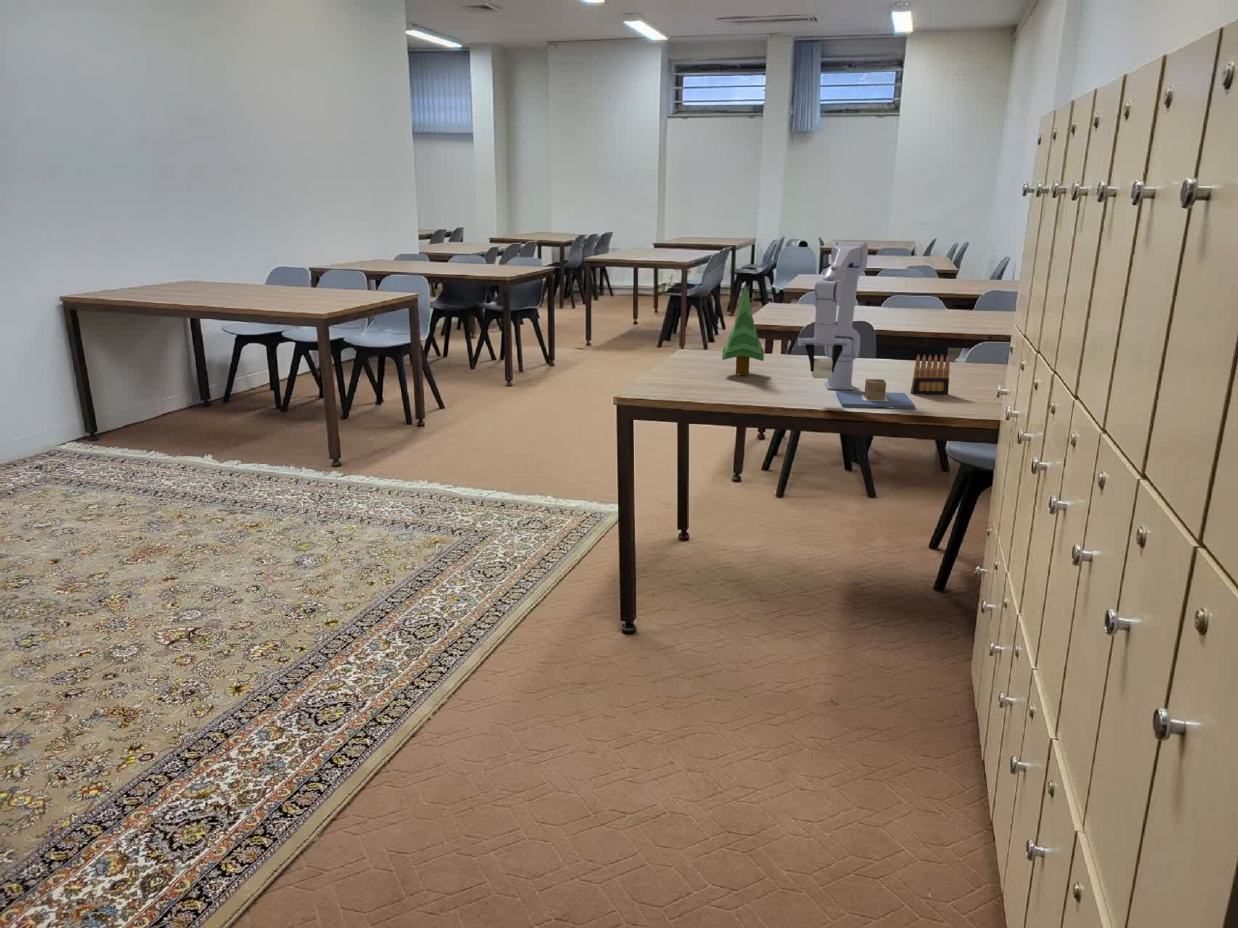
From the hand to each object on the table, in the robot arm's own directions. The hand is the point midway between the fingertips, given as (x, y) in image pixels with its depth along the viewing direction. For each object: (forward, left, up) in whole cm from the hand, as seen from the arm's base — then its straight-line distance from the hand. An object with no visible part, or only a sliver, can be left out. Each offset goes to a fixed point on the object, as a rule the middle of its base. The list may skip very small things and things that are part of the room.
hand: (821, 371), depth 252 cm
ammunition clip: (-16, +34, -10) cm, 39 cm away
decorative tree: (-38, -22, -10) cm, 45 cm away
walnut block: (-4, +16, -8) cm, 18 cm away
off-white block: (0, 0, -2) cm, 2 cm away
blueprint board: (-4, +16, -9) cm, 19 cm away
